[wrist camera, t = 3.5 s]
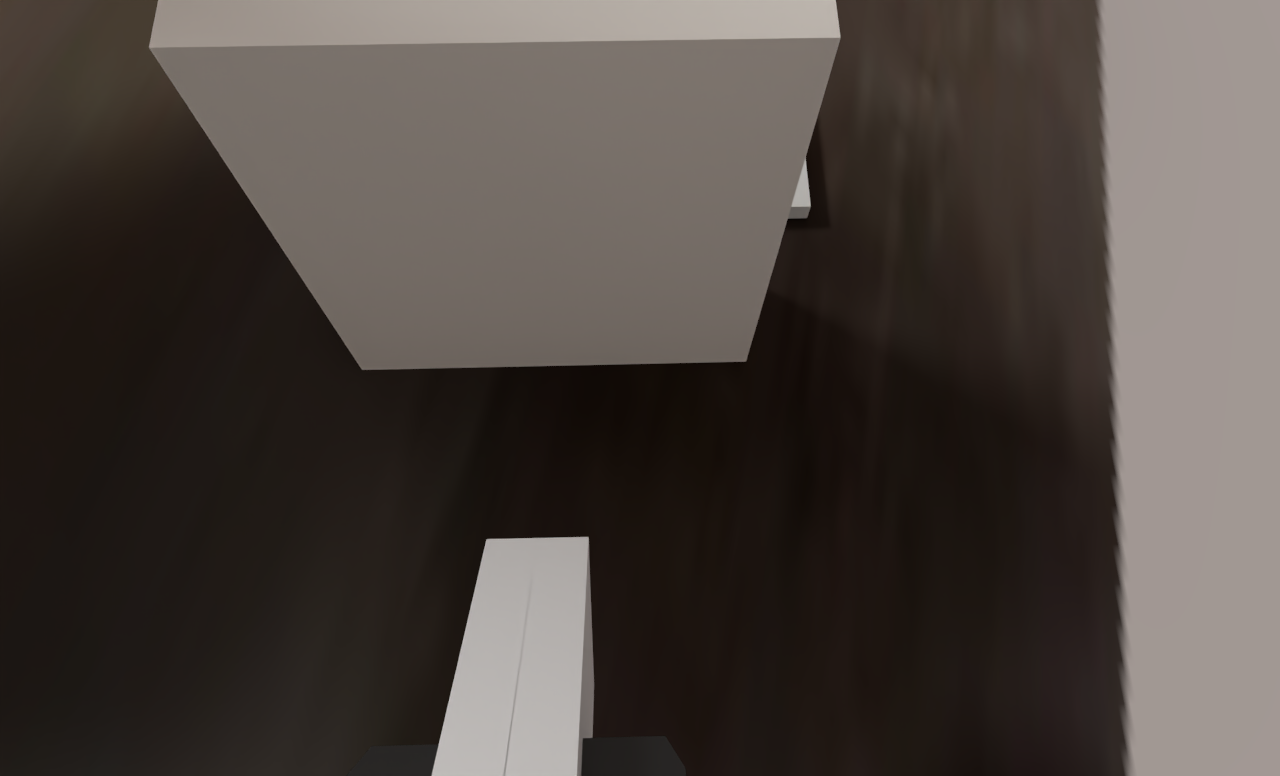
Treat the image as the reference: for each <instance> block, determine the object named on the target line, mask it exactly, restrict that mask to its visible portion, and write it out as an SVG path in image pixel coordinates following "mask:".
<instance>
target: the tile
mask: <svg viewBox="0 0 1280 776" xmlns="http://www.w3.org/2000/svg"><path fill="white" fill-rule="evenodd" d="M839 41H840V30H839V23H838V15H837V8H836V0H158V5H157V10H156V15H155V20H154V25H153V30H152V35H151V40H150V45H149V49H150V50H151V52H152V53H153V55H154V56H155V58H156V59H157V61H158V62H159V64H160V65H161V67H162V68H163V70H164V71H165V73H166V74H167V76H168V77H169V79H170V80H171V82H172V83H173V85H174V86H175V88H176V89H177V91H178V92H179V94H180V95H181V97H182V98H183V100H184V101H185V103H186V104H187V106H188V107H189V109H190V111H191V112H192V114H193V115H194V117H195V118H196V120H197V121H198V123H199V124H200V126H201V127H202V129H203V130H204V132H205V133H206V135H207V136H208V138H209V139H210V141H211V142H212V144H213V145H214V147H215V148H216V150H217V151H218V153H219V154H220V156H221V157H222V159H223V160H224V162H225V163H226V165H227V166H228V168H229V169H230V171H231V173H232V174H233V176H234V177H235V179H236V180H237V182H238V183H239V185H240V186H241V188H242V189H243V191H244V192H245V194H246V195H247V197H248V198H249V200H250V201H251V203H252V204H253V206H254V207H255V209H256V210H257V212H258V213H259V215H260V216H261V218H262V219H263V221H264V222H265V224H266V225H267V227H268V228H269V230H270V231H271V233H272V235H273V236H274V238H275V239H276V241H277V242H278V244H279V245H280V247H281V248H282V250H283V251H284V253H285V254H286V256H287V257H288V259H289V260H290V262H291V263H292V265H293V266H294V268H295V269H296V271H297V272H298V274H299V275H300V277H301V278H302V280H303V281H304V283H305V284H306V286H307V287H308V289H309V290H310V292H311V293H312V295H313V297H314V298H315V300H316V301H317V303H318V304H319V306H320V307H321V309H322V310H323V312H324V313H325V315H326V316H327V318H328V319H329V321H330V322H331V324H332V325H333V327H334V328H335V330H336V331H337V333H338V334H339V336H340V337H341V339H342V340H343V342H344V343H345V345H346V346H347V348H348V349H349V351H350V352H351V354H352V355H353V357H354V359H355V360H356V362H357V363H358V365H359V366H360V368H361V369H362V370H385V369H431V368H477V367H523V366H569V365H615V364H661V363H707V362H746V360H747V357H748V353H749V350H750V346H751V343H752V339H753V336H754V333H755V329H756V326H757V322H758V319H759V315H760V312H761V309H762V305H763V302H764V298H765V295H766V291H767V288H768V285H769V281H770V278H771V274H772V271H773V267H774V264H775V261H776V257H777V254H778V250H779V247H780V243H781V240H782V237H783V233H784V230H785V226H786V223H787V219H788V216H789V213H790V209H791V206H792V202H793V199H794V195H795V192H796V189H797V185H798V182H799V178H800V175H801V171H802V168H803V165H804V161H805V158H806V154H807V151H808V147H809V144H810V141H811V137H812V134H813V130H814V127H815V123H816V120H817V116H818V113H819V110H820V106H821V103H822V99H823V96H824V92H825V89H826V86H827V82H828V79H829V75H830V72H831V68H832V65H833V62H834V58H835V55H836V51H837V48H838V44H839Z"/></svg>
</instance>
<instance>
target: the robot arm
mask: <svg viewBox="0 0 1280 776" xmlns="http://www.w3.org/2000/svg"><path fill="white" fill-rule="evenodd" d="M593 703H594V671H593V644H592V617H591V590H590V562H589V537H561V538H515V539H486V543H485V548H484V552H483V556H482V561H481V565H480V569H479V574H478V578H477V582H476V586H475V591H474V595H473V599H472V604H471V608H470V612H469V617H468V621H467V625H466V629H465V634H464V638H463V642H462V647H461V651H460V655H459V660H458V664H457V668H456V672H455V677H454V681H453V685H452V690H451V694H450V698H449V703H448V707H447V711H446V715H445V720H444V724H443V728H442V733H441V737H440V741H439V745H400V746H371V747H370V749H369V750H368V751H367V752H366V753H365V754H364V756H363V757H362V758H361V759H360V760H359V761H358V763H357V764H356V765H355V766H354V767H353V768H352V770H351V771H350V772H349V773H348V774H347V775H346V776H686V770H685V767H684V765H683V763H682V762H681V760H680V759H679V757H678V756H677V754H676V752H675V751H674V749H673V748H672V746H671V744H670V743H669V741H668V740H667V738H666V736H648V737H609V738H592V735H593Z"/></svg>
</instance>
